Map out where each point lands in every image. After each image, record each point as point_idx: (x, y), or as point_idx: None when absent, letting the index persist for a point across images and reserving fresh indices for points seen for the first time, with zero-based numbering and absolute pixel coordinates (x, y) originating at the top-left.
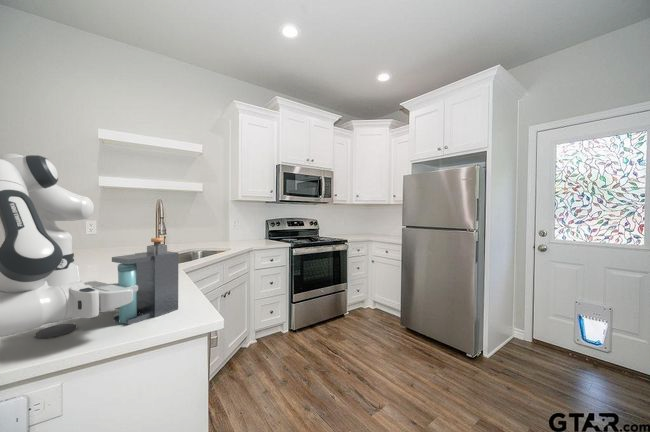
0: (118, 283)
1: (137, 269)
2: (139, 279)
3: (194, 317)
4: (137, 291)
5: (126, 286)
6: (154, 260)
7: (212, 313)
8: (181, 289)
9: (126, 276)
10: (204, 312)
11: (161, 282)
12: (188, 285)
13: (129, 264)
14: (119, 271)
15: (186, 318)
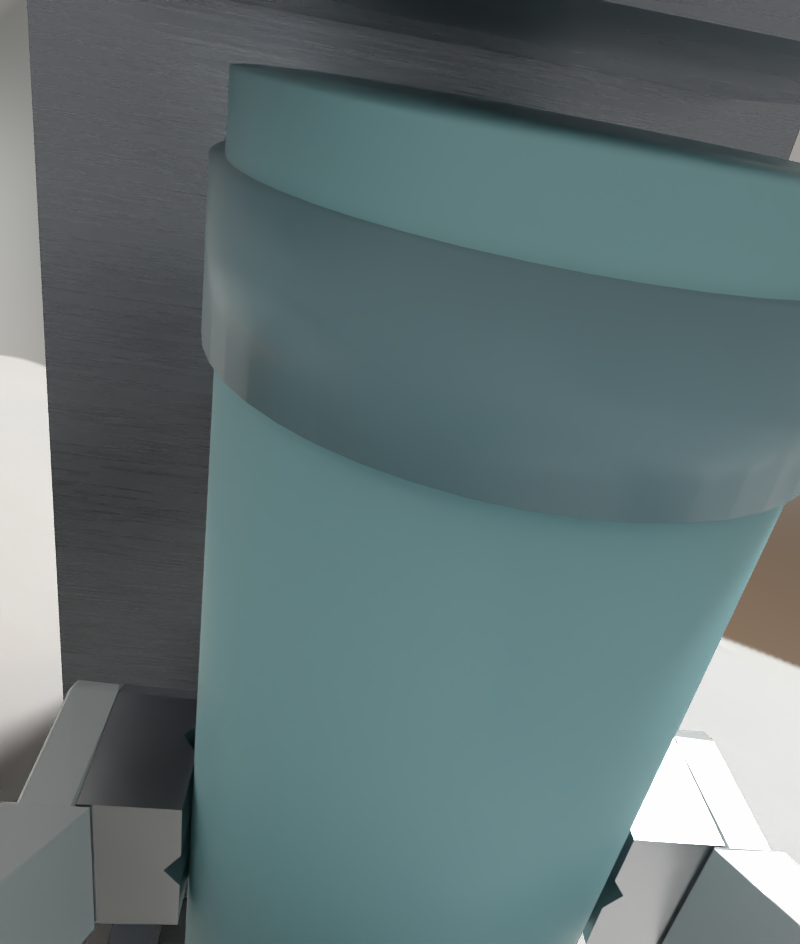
0: (362, 907)
1: (134, 284)
2: (195, 483)
3: (791, 763)
4: (131, 665)
5: (601, 884)
6: (798, 106)
7: (786, 665)
8: (46, 416)
9: (717, 643)
10: (719, 668)
11: None
12: (33, 369)
13: (739, 156)
14: (596, 519)
15: (772, 803)
